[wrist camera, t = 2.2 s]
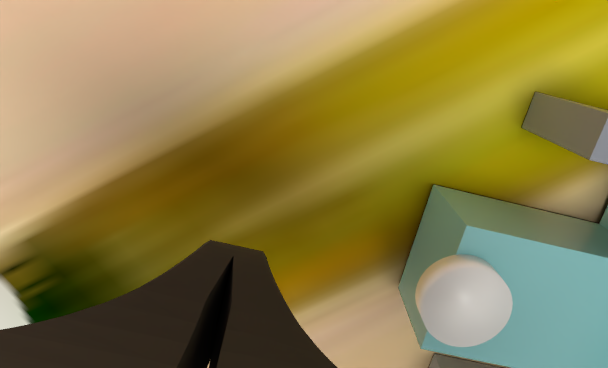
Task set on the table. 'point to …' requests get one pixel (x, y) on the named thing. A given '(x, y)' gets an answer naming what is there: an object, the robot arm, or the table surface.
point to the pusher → (508, 283)
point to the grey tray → (568, 134)
